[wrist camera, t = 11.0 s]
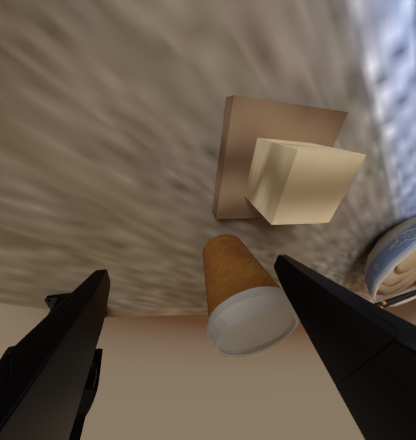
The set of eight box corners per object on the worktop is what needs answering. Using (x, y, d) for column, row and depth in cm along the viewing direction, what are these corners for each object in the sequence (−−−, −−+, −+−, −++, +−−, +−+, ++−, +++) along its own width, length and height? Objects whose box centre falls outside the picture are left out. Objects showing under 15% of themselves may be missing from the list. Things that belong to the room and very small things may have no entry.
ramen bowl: (484, 167, 29) (583, 184, 22) (416, 258, 42) (465, 287, 35) (350, 207, 27) (412, 238, 20) (323, 289, 40) (355, 326, 33)
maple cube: (289, 196, 21) (328, 222, 16) (244, 195, 19) (271, 224, 14) (309, 142, 18) (366, 155, 13) (257, 137, 16) (297, 149, 11)
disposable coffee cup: (178, 258, 25) (188, 354, 15) (223, 213, 22) (269, 293, 13) (222, 279, 30) (251, 362, 20) (263, 243, 27) (320, 318, 17)
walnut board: (292, 209, 25) (301, 216, 23) (212, 211, 22) (216, 219, 20) (331, 112, 18) (348, 112, 17) (226, 97, 16) (233, 95, 14)
